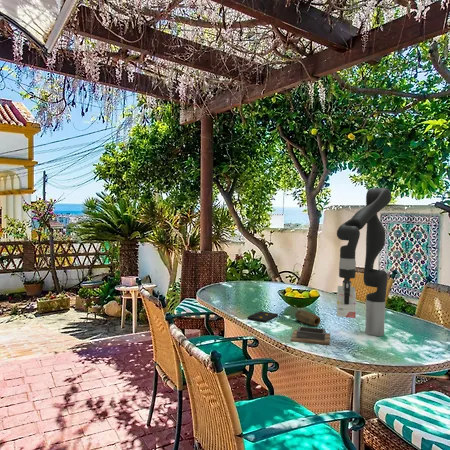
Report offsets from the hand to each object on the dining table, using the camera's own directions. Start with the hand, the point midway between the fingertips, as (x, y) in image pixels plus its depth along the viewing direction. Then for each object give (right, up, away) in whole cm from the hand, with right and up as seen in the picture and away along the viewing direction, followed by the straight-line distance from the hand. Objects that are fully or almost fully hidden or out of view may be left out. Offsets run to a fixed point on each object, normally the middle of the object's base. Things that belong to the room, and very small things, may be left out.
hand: (346, 302), depth 187 cm
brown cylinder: (-12, -18, +32) cm, 39 cm away
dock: (-16, -18, +5) cm, 25 cm away
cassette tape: (-36, -18, +42) cm, 58 cm away
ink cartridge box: (0, -7, 0) cm, 7 cm away
